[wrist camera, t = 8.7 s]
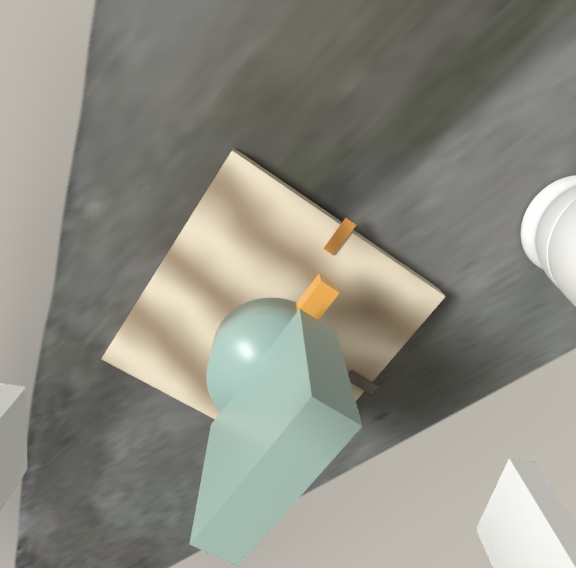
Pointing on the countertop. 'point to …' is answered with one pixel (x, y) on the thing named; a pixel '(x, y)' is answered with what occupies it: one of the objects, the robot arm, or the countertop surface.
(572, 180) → the jar
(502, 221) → the countertop surface
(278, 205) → the base
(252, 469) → the mint bar with ball
